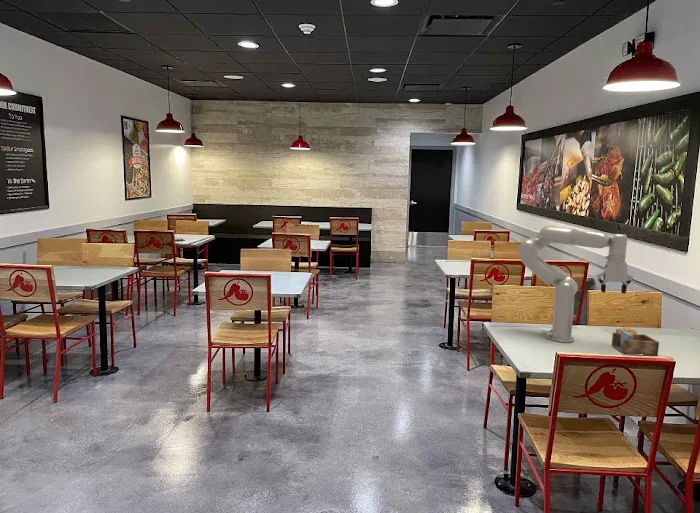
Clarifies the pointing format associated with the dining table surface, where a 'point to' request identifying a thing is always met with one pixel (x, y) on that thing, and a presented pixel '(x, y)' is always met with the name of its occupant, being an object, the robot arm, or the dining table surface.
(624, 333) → the blue-gray flat block
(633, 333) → the croissant
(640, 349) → the wooden box
